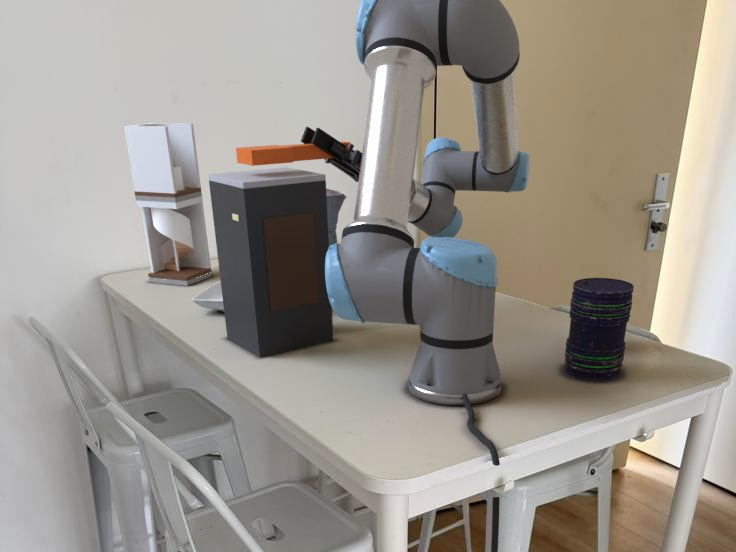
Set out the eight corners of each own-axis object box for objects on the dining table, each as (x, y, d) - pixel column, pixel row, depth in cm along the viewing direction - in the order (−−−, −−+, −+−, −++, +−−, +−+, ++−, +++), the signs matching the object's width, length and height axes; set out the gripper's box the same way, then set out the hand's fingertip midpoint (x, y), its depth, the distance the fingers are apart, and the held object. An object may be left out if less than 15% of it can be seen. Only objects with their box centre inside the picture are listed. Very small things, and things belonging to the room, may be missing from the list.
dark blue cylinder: (628, 368, 135) (641, 281, 128) (612, 385, 128) (625, 295, 120) (573, 359, 140) (583, 275, 132) (554, 375, 132) (564, 287, 125)
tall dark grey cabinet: (297, 324, 160) (286, 167, 145) (333, 341, 150) (326, 174, 135) (226, 338, 152) (206, 174, 137) (259, 357, 142) (242, 182, 127)
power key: (338, 154, 146) (337, 140, 145) (355, 157, 141) (355, 142, 140) (237, 162, 135) (235, 147, 134) (252, 165, 131) (251, 150, 130)
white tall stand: (149, 282, 193) (123, 126, 175) (175, 272, 201) (152, 122, 183) (187, 285, 189) (165, 126, 171) (211, 276, 197) (193, 123, 180)
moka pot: (344, 264, 207) (341, 184, 197) (289, 262, 210) (284, 183, 199) (353, 256, 215) (350, 179, 205) (300, 255, 218) (295, 178, 207)
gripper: (417, 218, 149) (324, 158, 133) (371, 207, 160) (280, 152, 144) (433, 180, 147) (341, 115, 131) (385, 172, 159) (295, 112, 143)
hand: (309, 134), depth 138 cm, fingers closed on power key, 3 cm apart
